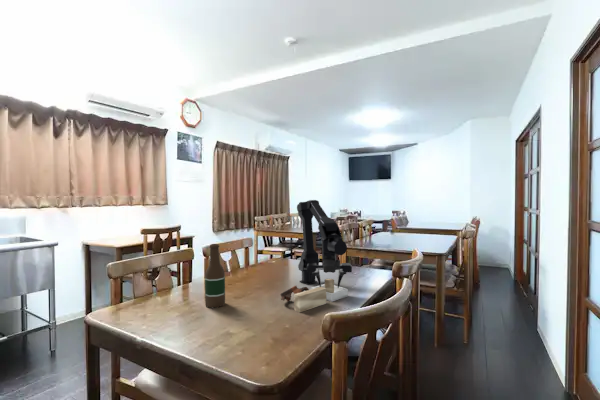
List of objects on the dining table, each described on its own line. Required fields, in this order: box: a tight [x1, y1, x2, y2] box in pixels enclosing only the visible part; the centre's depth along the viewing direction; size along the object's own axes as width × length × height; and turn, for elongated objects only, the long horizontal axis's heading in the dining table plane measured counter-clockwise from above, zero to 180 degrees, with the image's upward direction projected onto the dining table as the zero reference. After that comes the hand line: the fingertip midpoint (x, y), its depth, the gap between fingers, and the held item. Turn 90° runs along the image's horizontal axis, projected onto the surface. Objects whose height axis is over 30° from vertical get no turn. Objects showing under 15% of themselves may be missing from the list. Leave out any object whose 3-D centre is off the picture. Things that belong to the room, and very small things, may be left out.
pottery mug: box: [280, 285, 310, 302], centre depth 123 cm, size 12×10×8 cm
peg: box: [324, 278, 335, 293], centre depth 132 cm, size 4×4×6 cm
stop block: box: [293, 287, 327, 313], centre depth 119 cm, size 3×14×6 cm, turn 131°
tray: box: [310, 283, 349, 302], centre depth 133 cm, size 12×10×3 cm
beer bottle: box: [204, 243, 226, 308], centre depth 123 cm, size 8×8×24 cm
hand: (329, 287), depth 133 cm, fingers open, 7 cm apart
